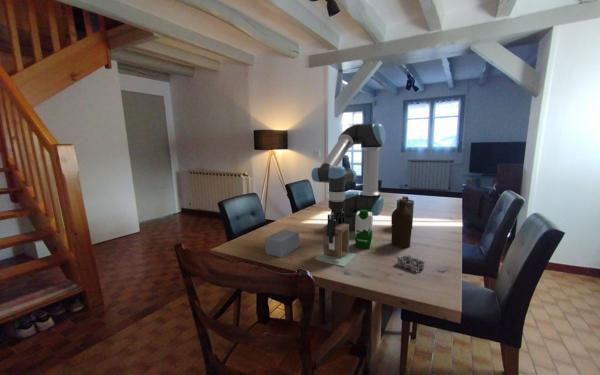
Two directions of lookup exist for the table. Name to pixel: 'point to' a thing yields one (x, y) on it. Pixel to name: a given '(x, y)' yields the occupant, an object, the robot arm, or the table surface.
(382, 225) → the table surface
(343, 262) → the mat
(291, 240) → the blue-grey rectangular block
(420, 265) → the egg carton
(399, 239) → the olive oil
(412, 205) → the canister
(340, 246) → the grooved wooden block
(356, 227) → the milk carton
